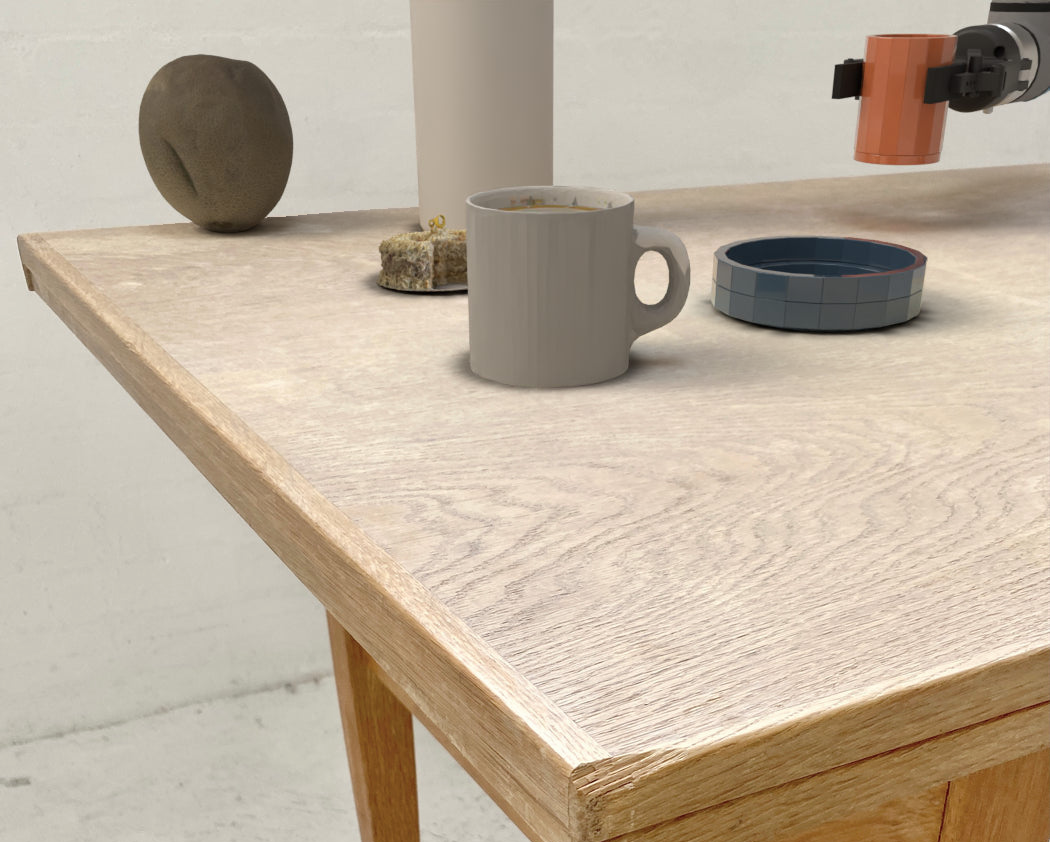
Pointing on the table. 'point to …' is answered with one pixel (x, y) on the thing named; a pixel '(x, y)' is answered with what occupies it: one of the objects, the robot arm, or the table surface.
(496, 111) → the cylinder vase
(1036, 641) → the table surface
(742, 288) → the bowl
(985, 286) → the table surface
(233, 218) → the brown rounded stone
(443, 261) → the cake
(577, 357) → the coffee mug
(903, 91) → the tumbler
